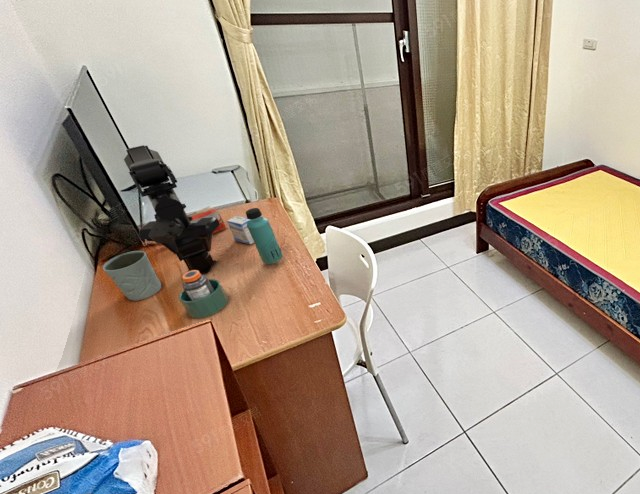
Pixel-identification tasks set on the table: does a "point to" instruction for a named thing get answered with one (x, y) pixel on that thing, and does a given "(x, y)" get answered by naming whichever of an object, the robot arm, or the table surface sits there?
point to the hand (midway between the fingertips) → (193, 252)
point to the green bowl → (205, 301)
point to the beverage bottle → (263, 236)
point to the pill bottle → (196, 285)
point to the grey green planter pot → (133, 275)
